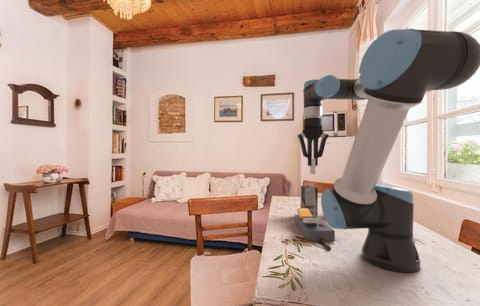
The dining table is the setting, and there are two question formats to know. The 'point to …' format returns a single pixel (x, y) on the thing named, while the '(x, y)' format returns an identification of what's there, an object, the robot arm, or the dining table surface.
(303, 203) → the coffee box
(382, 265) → the robot arm
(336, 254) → the dining table surface
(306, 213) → the amber rocker
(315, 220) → the grey rocker
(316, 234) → the power strip
